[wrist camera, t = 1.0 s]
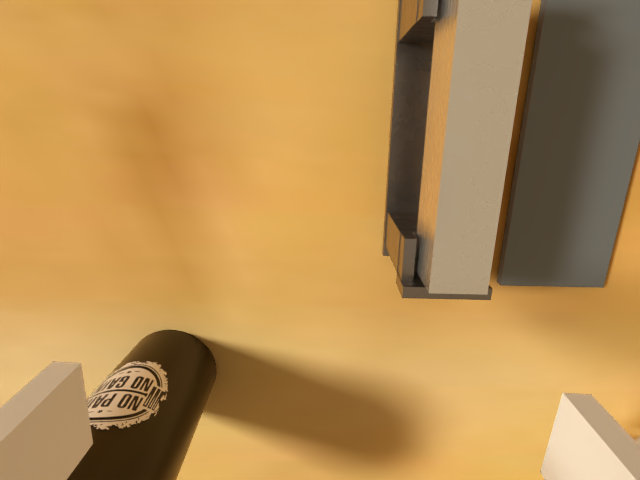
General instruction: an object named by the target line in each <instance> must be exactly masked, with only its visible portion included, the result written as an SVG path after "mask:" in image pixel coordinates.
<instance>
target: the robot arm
mask: <svg viewBox="0 0 640 480" xmlns="http://www.w3.org/2000/svg"><path fill="white" fill-rule="evenodd" d="M92 444H93V439H92V433H91V426H90V419H89V413H88V406H87V399H86V393H85V386H84V379H83V373H82V366H81V363H72V362H56V361H53V362H52V363H51V364H50V365H49V366H47V367H46V368H45V369H44V370H43V371H42V372H41V373H39V374H38V375H37V376H36V377H35V378H34V379H33V380H31V381H30V382H29V383H28V384H27V385H26V386H25V387H23V388H22V389H21V390H20V391H19V392H18V393H17V394H15V395H14V396H13V397H12V398H11V399H10V400H9V401H7V402H6V403H5V404H4V405H3V406H2V407H1V408H0V480H67V479H68V477H69V476H70V474H71V473H72V472H73V470H74V469H75V468H76V466H77V465H78V464H79V462H80V461H81V459H82V458H83V457H84V455H85V454H86V453H87V451H88V450H89V448H90V447H91V446H92ZM540 472H541V474H542V476H543V477H544V479H545V480H640V446H639V445H638V444H637V443H636V441H635V440H634V439H633V438H632V437H631V436H630V435H629V434H628V433H627V432H626V431H625V430H624V429H623V428H622V427H621V426H620V424H619V423H618V422H617V421H616V420H615V419H614V418H613V417H612V416H611V415H610V414H609V413H608V412H607V411H606V410H605V409H604V408H603V406H602V405H601V404H600V403H599V402H598V401H597V400H596V399H595V398H594V397H593V396H592V395H591V394H575V393H563V394H562V397H561V401H560V404H559V408H558V411H557V415H556V418H555V422H554V425H553V429H552V433H551V436H550V440H549V443H548V447H547V450H546V454H545V457H544V461H543V464H542V468H541V471H540Z"/></svg>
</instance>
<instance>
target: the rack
mask: <svg viewBox="0 0 640 480" xmlns="http://www.w3.org/2000/svg"><path fill="white" fill-rule="evenodd" d="M437 9H438V0H398V14H397V30H396V45H395V61H394V77H393V93H392V109H391V125H390V141H389V157H388V173H387V188H386V204H385V220H384V236H383V252H382V254H383V256H390V257H391V260H392V262H393V264H394V267H395V269H396V271H397V279H396V284H397V286H398V289H399V291H400V294H401V296H402V298H425V299H470V300H491V295H492V288H491V287H490V286H489V287H488V294H487V295H482V294H436V293H428V291H427V289H426V287H425V286H424V284H423V282H422V280H421V279H420V277H419V275H418V273H417V271H416V270H415V268H414V265H415V254H416V243H417V238H416V234H417V223H418V212H419V201H420V190H421V178H422V167H423V156H424V145H425V133H426V122H427V111H428V100H429V88H430V77H431V66H432V55H433V44H434V32H435V21H436V16H437Z"/></svg>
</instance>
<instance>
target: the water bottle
mask: <svg viewBox="0 0 640 480" xmlns="http://www.w3.org/2000/svg"><path fill="white" fill-rule="evenodd" d="M215 378H216V363H215V360H214V357H213V355H212V354H211V352H210V350H209V349H208V348H207V347H206V346H205V345H204V344H203V343H202V342H201V341H200V340H198V339H197V338H195V337H194V336H192V335H190V334H187V333H184V332H181V331H175V330H162V331H157V332H154V333H152V334H150V335H148V336H146V337H145V338H143V339H142V340H141V341H140V342H139V343H138V344H137V345H136V347H135V348H134V349H133V350H132V351H131V352H130V353H129V354H128V355H127V356H126V357H125V358H124V360H123V361H122V362H121V363H120V364H119V365H118V366H117V367H116V368H115V369H114V370H113V371H112V373H111V374H110V375H109V376H108V377H107V378H106V379H105V380H104V381H103V382H102V383H101V384H100V385H99V386H98V388H97V389H96V390H95V391H94V392H93V393H91V394H90V395H89V396H88V398H87V406H88V413H89V419H90V426H91V433H92V439H93V444H92V446H91V447H90V448H89V450H88V451H87V453H86V454H85V455H84V457H83V458H82V459H81V461H80V462H79V464H78V465H77V466H76V468H75V469H74V470H73V472H72V473H71V474H70V476H69V477H68V479H67V480H176V479H177V476H178V474H179V471H180V468H181V466H182V463H183V461H184V458H185V456H186V453H187V451H188V448H189V445H190V443H191V440H192V438H193V435H194V433H195V430H196V428H197V425H198V422H199V420H200V417H201V415H202V412H203V410H204V407H205V405H206V402H207V399H208V397H209V394H210V392H211V389H212V387H213V384H214V382H215Z"/></svg>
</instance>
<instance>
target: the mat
mask: <svg viewBox="0 0 640 480" xmlns="http://www.w3.org/2000/svg"><path fill="white" fill-rule="evenodd" d="M639 141H640V0H541V6H540V13H539V19H538V25H537V32H536V38H535V44H534V50H533V57H532V63H531V69H530V76H529V82H528V88H527V95H526V101H525V107H524V113H523V120H522V126H521V132H520V139H519V145H518V151H517V158H516V164H515V170H514V176H513V183H512V189H511V195H510V202H509V208H508V214H507V221H506V227H505V233H504V239H503V246H502V252H501V258H500V265H499V271H498V277H497V282H498V283H499V284H500V285H510V286H557V287H604V283H605V279H606V275H607V270H608V266H609V262H610V258H611V254H612V250H613V246H614V242H615V238H616V234H617V230H618V226H619V222H620V218H621V214H622V210H623V206H624V202H625V198H626V194H627V190H628V186H629V182H630V178H631V174H632V170H633V165H634V161H635V157H636V153H637V149H638V145H639Z"/></svg>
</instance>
